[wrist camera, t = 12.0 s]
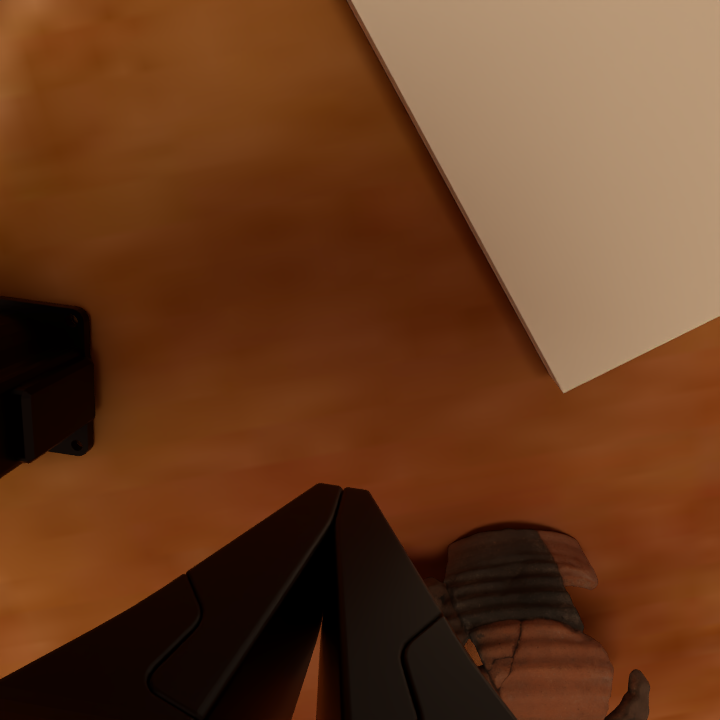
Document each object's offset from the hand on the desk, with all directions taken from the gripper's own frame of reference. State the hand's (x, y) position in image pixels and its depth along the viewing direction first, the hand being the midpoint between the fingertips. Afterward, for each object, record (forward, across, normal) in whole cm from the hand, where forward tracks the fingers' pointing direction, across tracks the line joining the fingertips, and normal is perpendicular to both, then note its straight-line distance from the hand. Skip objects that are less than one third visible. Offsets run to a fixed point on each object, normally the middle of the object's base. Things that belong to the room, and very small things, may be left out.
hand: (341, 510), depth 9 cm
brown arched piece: (+13, -6, +12) cm, 19 cm away
